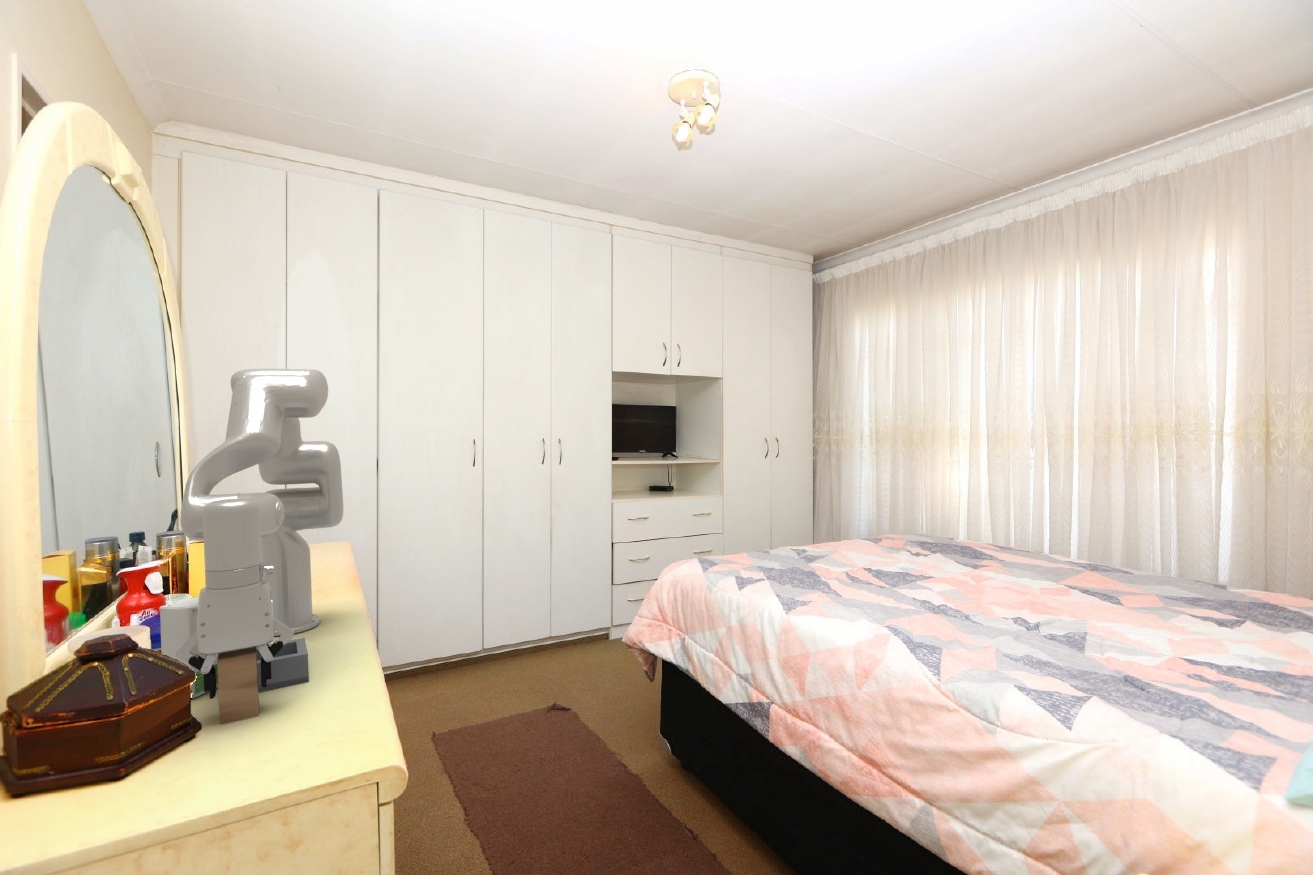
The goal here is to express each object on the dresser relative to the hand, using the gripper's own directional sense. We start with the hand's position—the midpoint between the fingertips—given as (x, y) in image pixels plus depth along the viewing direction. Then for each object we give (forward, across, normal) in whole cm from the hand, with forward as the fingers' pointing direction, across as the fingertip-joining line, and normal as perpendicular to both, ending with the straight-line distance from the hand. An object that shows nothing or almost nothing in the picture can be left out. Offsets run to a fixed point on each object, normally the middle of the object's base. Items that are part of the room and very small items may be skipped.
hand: (239, 688), depth 98 cm
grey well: (+4, -5, -13) cm, 15 cm away
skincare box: (+4, +6, -16) cm, 18 cm away
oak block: (+4, 0, 0) cm, 4 cm away
